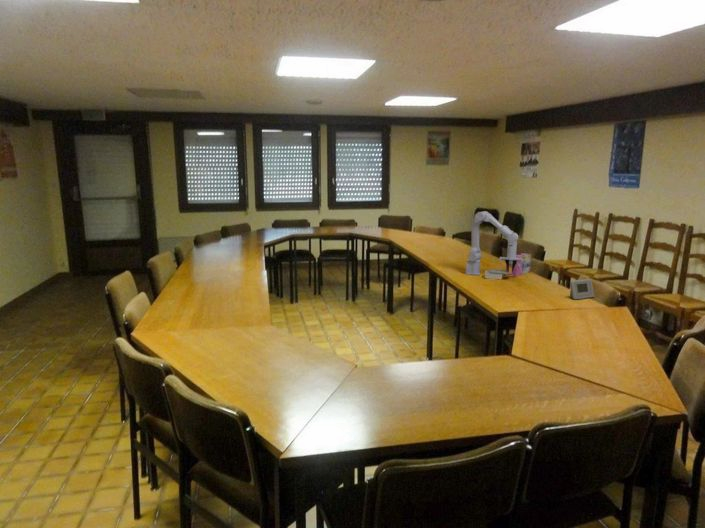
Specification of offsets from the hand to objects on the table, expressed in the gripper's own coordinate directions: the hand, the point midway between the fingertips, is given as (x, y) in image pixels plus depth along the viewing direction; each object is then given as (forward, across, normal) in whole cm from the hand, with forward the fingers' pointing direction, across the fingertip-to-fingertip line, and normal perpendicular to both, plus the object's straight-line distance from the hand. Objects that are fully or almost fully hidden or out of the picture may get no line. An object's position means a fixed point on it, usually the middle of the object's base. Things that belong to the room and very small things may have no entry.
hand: (510, 271), depth 320 cm
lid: (+1, -6, 0) cm, 6 cm away
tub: (+5, -10, 0) cm, 12 cm away
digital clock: (+6, +39, -35) cm, 52 cm away
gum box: (+6, +6, +21) cm, 22 cm away
